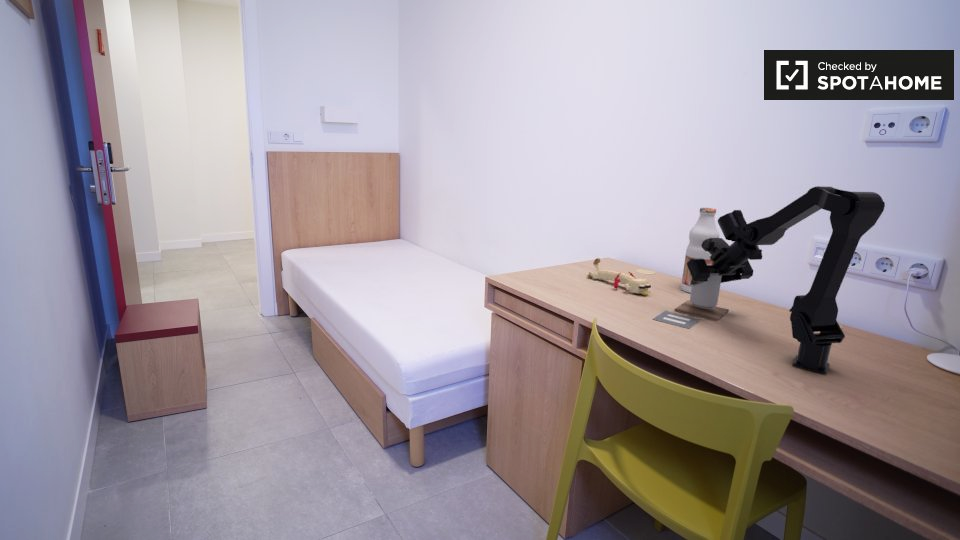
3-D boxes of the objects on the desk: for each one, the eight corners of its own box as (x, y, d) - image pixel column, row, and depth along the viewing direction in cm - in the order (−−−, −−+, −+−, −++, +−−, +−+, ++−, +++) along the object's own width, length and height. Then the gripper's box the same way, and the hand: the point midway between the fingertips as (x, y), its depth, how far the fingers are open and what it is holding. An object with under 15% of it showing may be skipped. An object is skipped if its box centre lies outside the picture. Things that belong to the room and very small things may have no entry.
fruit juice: (674, 287, 170) (686, 206, 163) (698, 286, 172) (711, 206, 165) (692, 295, 161) (705, 210, 154) (716, 294, 164) (730, 210, 157)
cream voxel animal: (582, 283, 177) (637, 297, 156) (583, 259, 175) (639, 269, 154) (602, 279, 182) (658, 293, 161) (603, 256, 180) (660, 266, 159)
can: (714, 311, 141) (721, 270, 138) (687, 306, 144) (692, 266, 142) (718, 304, 147) (724, 265, 144) (691, 299, 151) (697, 261, 148)
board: (717, 321, 138) (717, 319, 138) (674, 311, 145) (674, 309, 145) (728, 311, 147) (728, 309, 147) (687, 302, 154) (687, 300, 154)
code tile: (689, 328, 132) (689, 328, 132) (652, 319, 138) (652, 318, 138) (700, 319, 139) (700, 319, 139) (665, 311, 145) (665, 310, 145)
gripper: (752, 229, 139) (719, 259, 152) (695, 230, 134) (666, 260, 147) (770, 263, 133) (733, 291, 146) (711, 265, 128) (679, 293, 142)
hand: (703, 283), depth 145 cm, fingers closed on can, 7 cm apart
